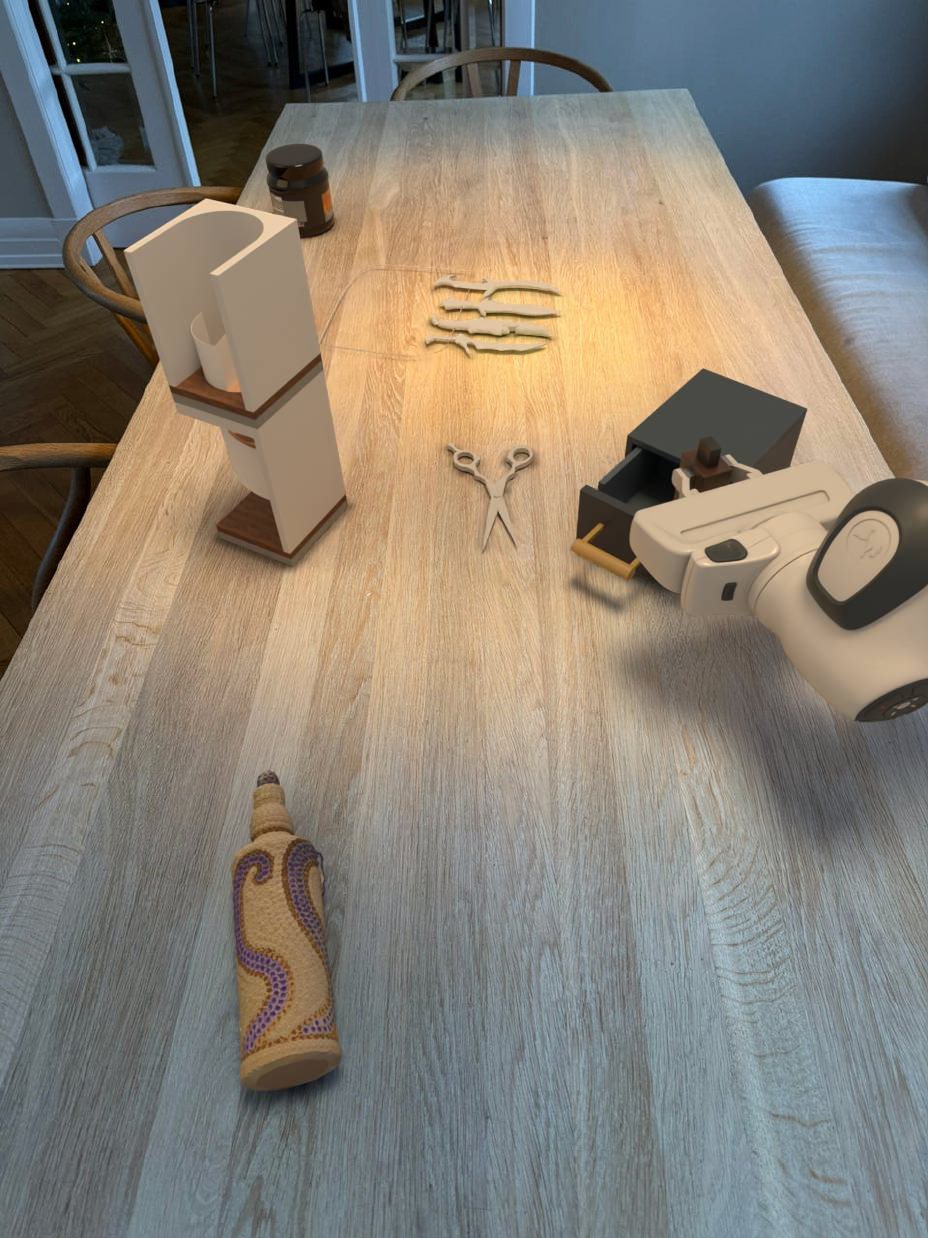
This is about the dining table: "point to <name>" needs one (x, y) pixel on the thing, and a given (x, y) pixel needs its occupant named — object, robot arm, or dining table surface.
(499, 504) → the scissors
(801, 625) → the robot arm
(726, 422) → the cabinet
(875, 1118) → the dining table surface
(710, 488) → the small brown bottle
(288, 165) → the supplement container
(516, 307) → the driftwood wall hanging
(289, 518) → the slotted cup holder tower
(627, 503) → the drawer
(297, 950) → the decorative bottle
